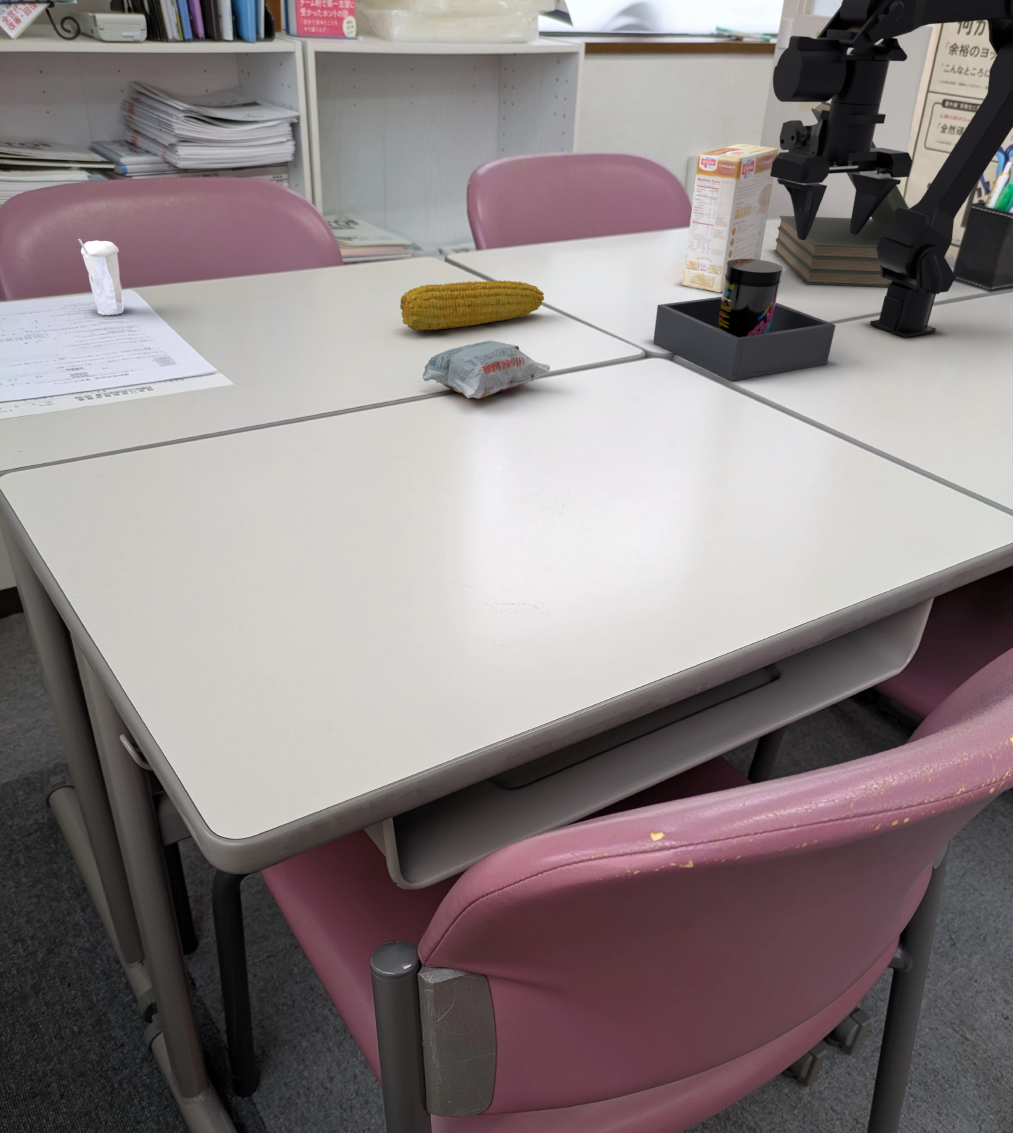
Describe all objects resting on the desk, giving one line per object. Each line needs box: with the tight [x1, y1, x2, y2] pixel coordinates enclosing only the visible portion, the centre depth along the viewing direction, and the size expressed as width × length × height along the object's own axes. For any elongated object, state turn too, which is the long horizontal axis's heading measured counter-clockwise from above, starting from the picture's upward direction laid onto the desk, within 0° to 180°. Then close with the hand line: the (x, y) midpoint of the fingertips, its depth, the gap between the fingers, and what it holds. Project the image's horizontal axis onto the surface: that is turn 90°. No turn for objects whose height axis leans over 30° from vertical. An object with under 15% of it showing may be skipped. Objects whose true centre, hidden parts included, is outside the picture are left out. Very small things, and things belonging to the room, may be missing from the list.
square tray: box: [652, 296, 836, 382], centre depth 120 cm, size 16×16×5 cm
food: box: [399, 280, 545, 331], centre depth 126 cm, size 21×6×6 cm, turn 123°
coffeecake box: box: [681, 143, 779, 293], centre depth 147 cm, size 15×7×20 cm, turn 144°
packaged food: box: [422, 340, 551, 400], centre depth 105 cm, size 9×12×5 cm
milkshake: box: [77, 238, 125, 316], centre depth 124 cm, size 4×5×10 cm
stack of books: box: [773, 101, 910, 288], centre depth 156 cm, size 23×20×25 cm
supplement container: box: [717, 259, 784, 337], centre depth 118 cm, size 7×7×10 cm
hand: (828, 236), depth 122 cm, fingers open, 9 cm apart
